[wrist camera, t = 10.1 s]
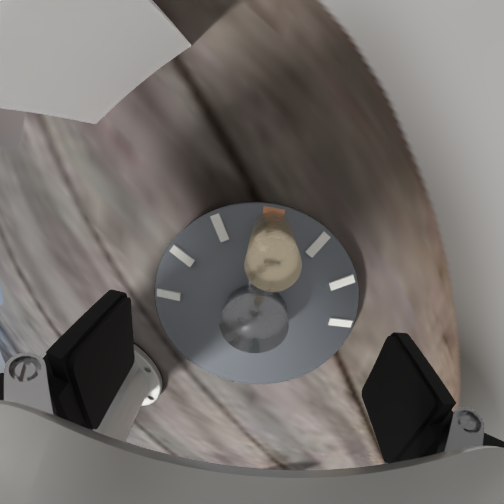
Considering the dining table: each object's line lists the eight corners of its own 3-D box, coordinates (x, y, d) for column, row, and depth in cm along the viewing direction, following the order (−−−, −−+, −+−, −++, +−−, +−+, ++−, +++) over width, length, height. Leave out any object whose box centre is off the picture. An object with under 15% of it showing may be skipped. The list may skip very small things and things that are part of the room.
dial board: (323, 385, 31) (325, 392, 30) (159, 358, 31) (156, 366, 30) (379, 224, 24) (384, 227, 23) (164, 187, 24) (159, 188, 23)
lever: (279, 343, 27) (281, 403, 19) (219, 333, 27) (203, 391, 19) (311, 218, 23) (331, 249, 15) (239, 205, 23) (223, 229, 15)
